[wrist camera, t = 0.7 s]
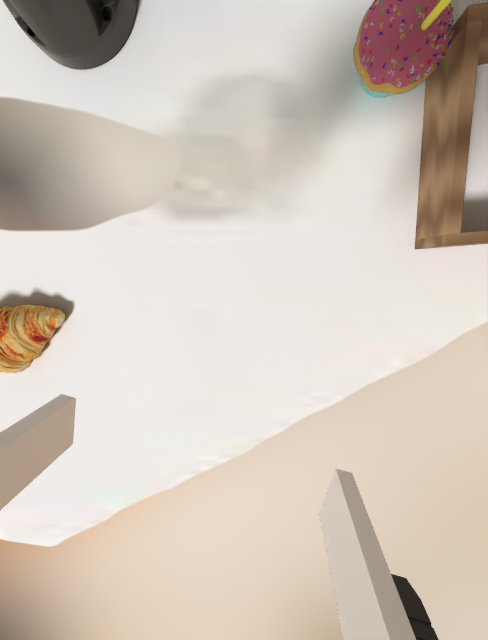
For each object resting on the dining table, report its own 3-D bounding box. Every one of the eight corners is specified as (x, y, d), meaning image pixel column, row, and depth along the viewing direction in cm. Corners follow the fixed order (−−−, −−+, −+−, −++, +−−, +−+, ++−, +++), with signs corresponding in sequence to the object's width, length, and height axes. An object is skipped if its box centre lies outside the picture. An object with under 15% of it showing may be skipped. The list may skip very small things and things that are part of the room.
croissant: (77, 292, 42) (25, 272, 35) (85, 347, 39) (30, 338, 32) (-15, 340, 46) (-80, 332, 38) (-15, 394, 42) (-86, 397, 35)
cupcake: (438, 58, 28) (560, -91, 16) (385, 133, 30) (459, 48, 18) (376, 11, 27) (454, -176, 16) (327, 89, 29) (363, -26, 18)
